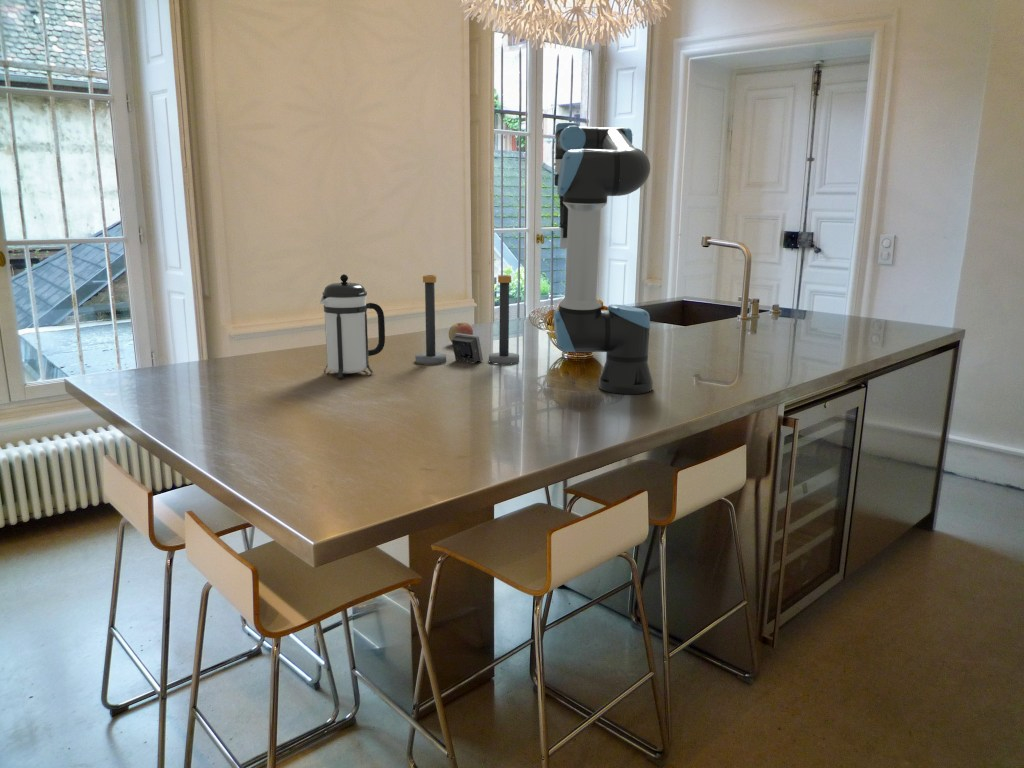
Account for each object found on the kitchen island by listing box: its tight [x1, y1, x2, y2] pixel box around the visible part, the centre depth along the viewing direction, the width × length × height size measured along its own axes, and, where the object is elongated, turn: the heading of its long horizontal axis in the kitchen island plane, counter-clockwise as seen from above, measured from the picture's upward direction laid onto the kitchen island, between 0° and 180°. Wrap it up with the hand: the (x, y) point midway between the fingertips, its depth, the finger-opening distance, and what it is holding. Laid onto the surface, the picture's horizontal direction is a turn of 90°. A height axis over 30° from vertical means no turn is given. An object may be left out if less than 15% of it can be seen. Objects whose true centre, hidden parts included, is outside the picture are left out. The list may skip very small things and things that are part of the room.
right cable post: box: [488, 274, 520, 365], centre depth 246 cm, size 10×10×28 cm
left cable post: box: [414, 274, 447, 366], centre depth 245 cm, size 10×10×28 cm
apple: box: [448, 322, 474, 343], centre depth 275 cm, size 9×9×8 cm
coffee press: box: [319, 273, 386, 380], centre depth 227 cm, size 17×16×30 cm
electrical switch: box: [451, 333, 484, 364], centre depth 248 cm, size 9×5×9 cm, turn 57°
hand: (564, 248), depth 249 cm, fingers closed
